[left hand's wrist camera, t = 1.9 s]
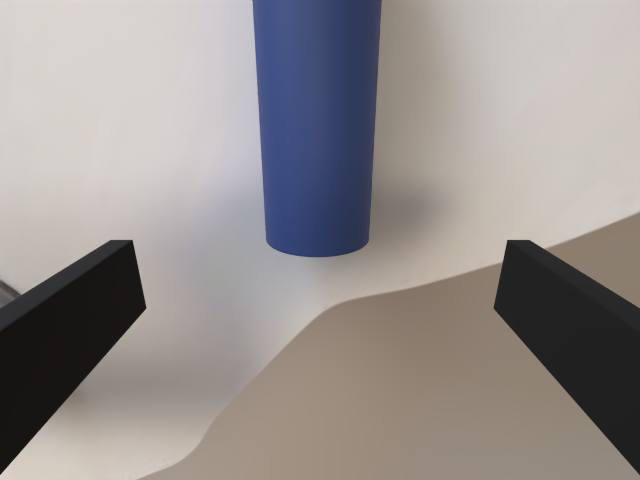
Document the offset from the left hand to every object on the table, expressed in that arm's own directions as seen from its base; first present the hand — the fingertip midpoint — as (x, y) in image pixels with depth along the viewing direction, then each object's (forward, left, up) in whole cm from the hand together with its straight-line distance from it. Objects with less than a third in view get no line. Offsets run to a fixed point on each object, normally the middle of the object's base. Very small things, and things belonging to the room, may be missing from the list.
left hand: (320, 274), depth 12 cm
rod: (+5, +6, -20) cm, 21 cm away
